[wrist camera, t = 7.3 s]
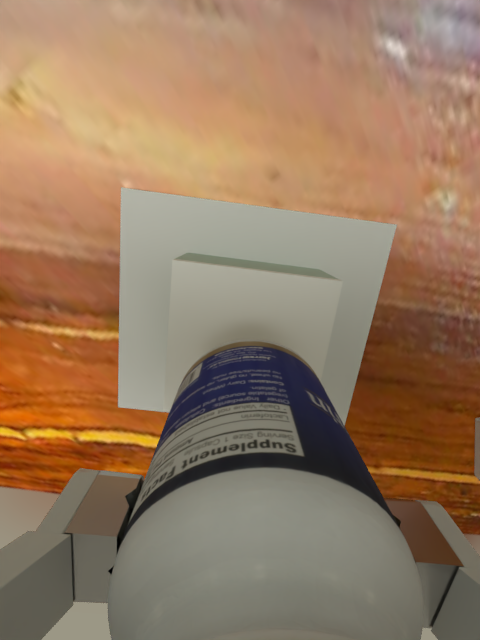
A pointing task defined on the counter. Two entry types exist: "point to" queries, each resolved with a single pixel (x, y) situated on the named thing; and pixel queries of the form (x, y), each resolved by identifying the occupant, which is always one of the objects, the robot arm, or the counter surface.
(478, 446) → the gray rectangular block
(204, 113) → the counter surface
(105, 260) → the counter surface
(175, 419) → the pill bottle
